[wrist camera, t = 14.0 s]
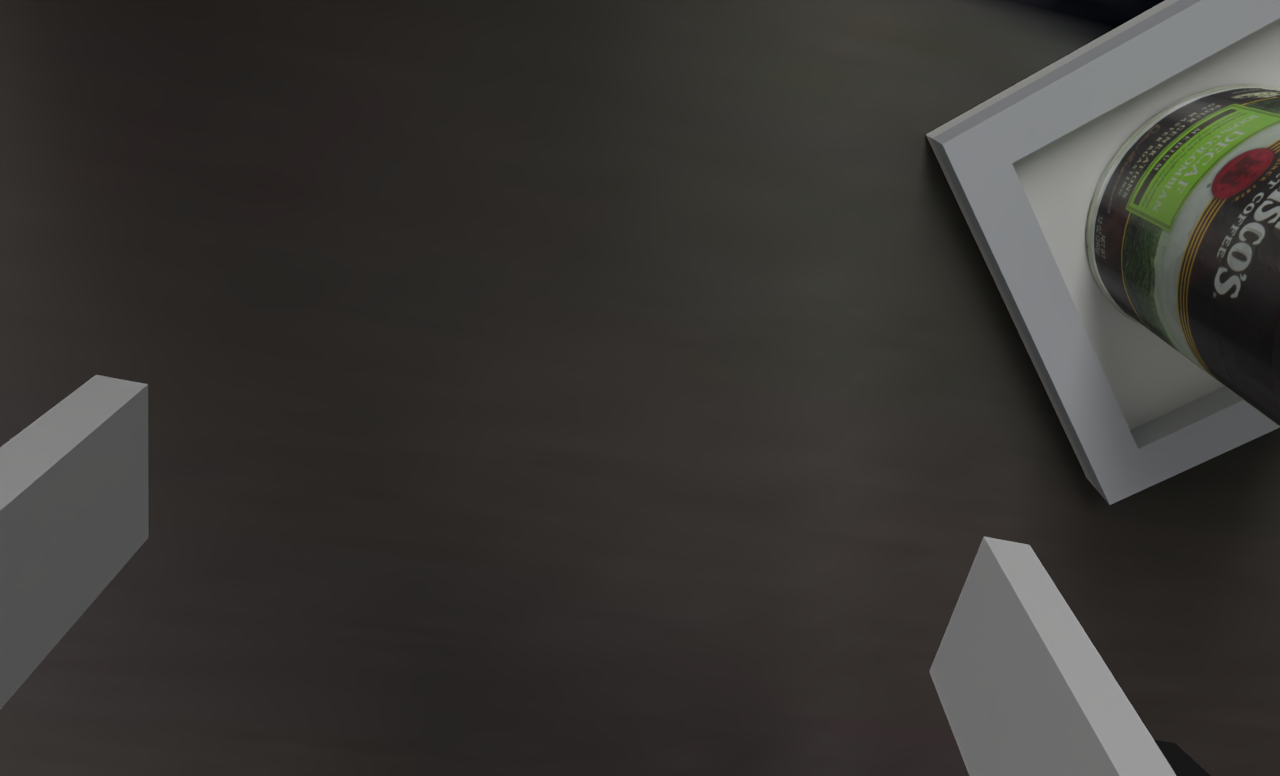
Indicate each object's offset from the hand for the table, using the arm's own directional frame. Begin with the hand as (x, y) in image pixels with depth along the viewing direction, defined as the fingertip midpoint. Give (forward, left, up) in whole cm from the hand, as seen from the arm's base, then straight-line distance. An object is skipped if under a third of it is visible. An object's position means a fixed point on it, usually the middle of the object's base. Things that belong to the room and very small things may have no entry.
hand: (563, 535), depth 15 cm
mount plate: (+13, +21, -27) cm, 37 cm away
